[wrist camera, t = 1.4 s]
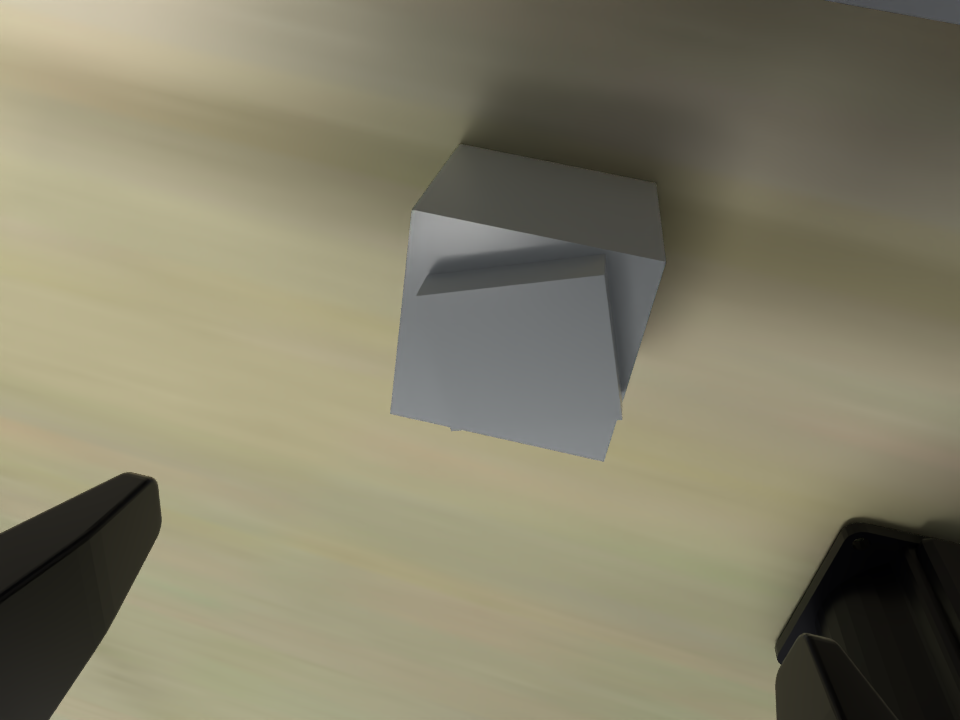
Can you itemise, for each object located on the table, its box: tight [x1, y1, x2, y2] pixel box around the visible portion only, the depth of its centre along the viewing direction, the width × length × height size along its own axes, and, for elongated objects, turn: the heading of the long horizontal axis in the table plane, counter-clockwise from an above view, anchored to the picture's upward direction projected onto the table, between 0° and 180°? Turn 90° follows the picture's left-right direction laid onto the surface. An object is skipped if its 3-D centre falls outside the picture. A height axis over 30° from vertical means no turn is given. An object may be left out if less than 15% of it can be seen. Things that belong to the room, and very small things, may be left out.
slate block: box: [390, 144, 666, 462], centre depth 17 cm, size 5×5×6 cm
